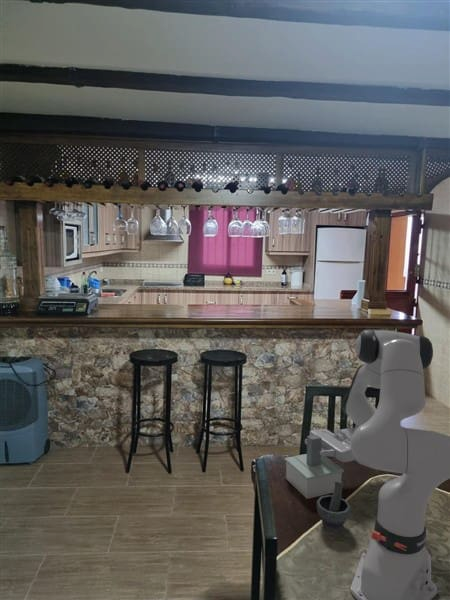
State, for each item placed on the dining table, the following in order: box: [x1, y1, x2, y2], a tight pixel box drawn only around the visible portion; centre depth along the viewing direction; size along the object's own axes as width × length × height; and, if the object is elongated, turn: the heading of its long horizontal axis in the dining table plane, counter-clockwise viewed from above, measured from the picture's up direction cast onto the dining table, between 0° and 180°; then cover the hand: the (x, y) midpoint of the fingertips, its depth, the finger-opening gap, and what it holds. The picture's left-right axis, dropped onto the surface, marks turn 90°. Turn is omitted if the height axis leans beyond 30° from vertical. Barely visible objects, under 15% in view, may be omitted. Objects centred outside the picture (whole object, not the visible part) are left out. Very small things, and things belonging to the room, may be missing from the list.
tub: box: [285, 461, 343, 500], centre depth 151 cm, size 14×14×7 cm
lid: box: [284, 435, 345, 480], centre depth 150 cm, size 15×15×12 cm
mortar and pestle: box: [316, 481, 351, 533], centre depth 128 cm, size 11×9×12 cm
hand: (313, 447), depth 150 cm, fingers open, 8 cm apart
